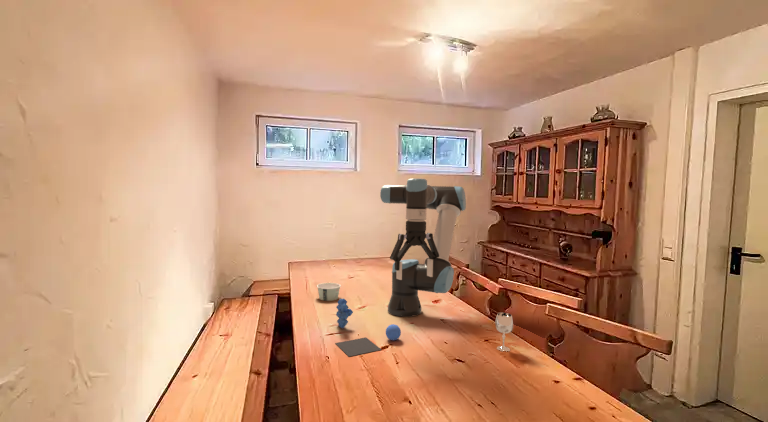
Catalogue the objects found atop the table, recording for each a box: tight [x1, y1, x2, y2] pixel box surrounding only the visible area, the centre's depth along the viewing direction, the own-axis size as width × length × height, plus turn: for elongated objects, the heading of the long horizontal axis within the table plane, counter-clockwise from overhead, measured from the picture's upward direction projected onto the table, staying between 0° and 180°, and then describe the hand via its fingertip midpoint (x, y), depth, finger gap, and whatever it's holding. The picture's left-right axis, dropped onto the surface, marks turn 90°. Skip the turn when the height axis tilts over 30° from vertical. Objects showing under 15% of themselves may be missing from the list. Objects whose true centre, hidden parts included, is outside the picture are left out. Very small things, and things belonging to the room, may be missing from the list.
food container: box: [316, 282, 342, 302], centre depth 188 cm, size 12×12×6 cm
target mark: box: [334, 337, 382, 358], centre depth 129 cm, size 12×12×1 cm
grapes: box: [335, 298, 354, 329], centre depth 147 cm, size 12×7×12 cm, turn 18°
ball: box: [385, 323, 402, 341], centre depth 136 cm, size 6×6×6 cm
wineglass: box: [495, 312, 514, 353], centre depth 129 cm, size 6×6×12 cm
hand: (414, 277), depth 140 cm, fingers open, 13 cm apart
